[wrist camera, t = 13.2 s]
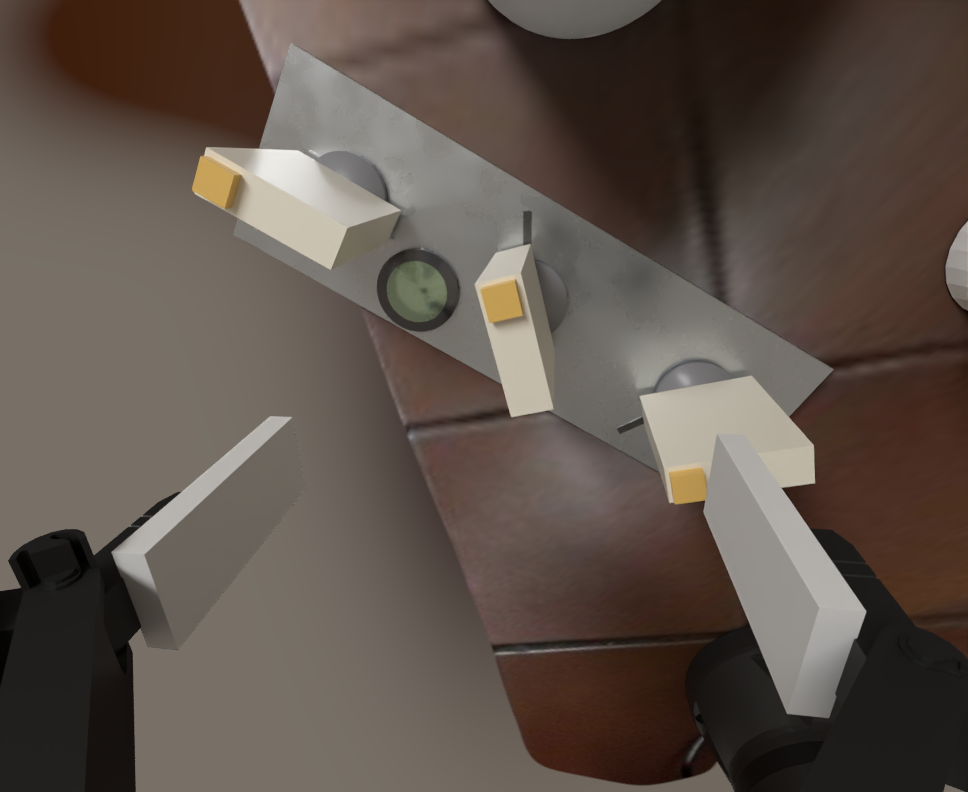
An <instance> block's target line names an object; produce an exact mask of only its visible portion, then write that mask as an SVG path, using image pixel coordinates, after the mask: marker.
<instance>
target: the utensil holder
mask: <svg viewBox="0 0 968 792" xmlns="http://www.w3.org/2000/svg"><path fill="white" fill-rule="evenodd" d="M488 1H489V2H490V3H491V4H492V5H493V6H494V7H495V8H496V9H497V10H498V11H499V12H500V13H502V14H503V15H504V16H505V17H507V18H508V19H509V20H511V21H512V22H513V23H515V24H517V25H519V26H520V27H522V28H524V29H526V30H528V31H531V32H534V33H536V34H540V35H543V36H547V37H553V38H561V39H580V38H589V37H593V36H598V35H602V34H606V33H609V32H611V31H614V30H617V29H619V28H621V27H623V26H625V25H627V24H629V23H631V22H633V21H634V20H636V19H638V18H639V17H641V16H642V15H644V14H645V13H647V12H648V11H649V10H651V9H652V8H653V7H655V6H656V5H657V4H658V3H659V2H660V1H662V0H488Z"/></svg>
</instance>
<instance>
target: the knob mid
mask: <svg viewBox="0 0 968 792" xmlns="http://www.w3.org/2000/svg"><path fill="white" fill-rule="evenodd" d="M475 288H476V291H477V295H478V298H479V302H480V306H481V309H482V313H483V317H484V320H485V324H486V328H487V331H488V335H489V338H490V342H491V346H492V349H493V353H494V357H495V360H496V364H497V368H498V371H499V375H500V378H501V382H502V386H503V389H504V393H505V397H506V400H507V404H508V407H509V411H510V415H511V417H515V416H520V415H525V414H531V413H536V412H542V411H547V410H553V409H554V367H555V348H554V344H553V340H552V335H551V333H553V332H554V331H555V330H556V329H557V328H558V327H559V325H560V324H561V323H562V321H563V319H564V317H565V314H566V310H567V291H566V288H565V285H564V283H563V281H562V279H561V278H560V276H559V275H558V274H557V273H556V272H555V271H554V270H553V269H552V268H550V267H549V266H547V265H545V264H544V263H541V262H538V261H534V256H533V252H532V248H531V244H528V245H524V246H520V247H516V248H512V249H508V250H504V251H501V252H497V253H495V255H494V256H493V258H492V259H491V261H490V262H489V264H488V265H487V267H486V268H485V270H484V271H483V273H482V274H481V275H480V277H479V278H478V280H477V281H476V283H475Z"/></svg>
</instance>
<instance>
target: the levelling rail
mask: <svg viewBox="0 0 968 792" xmlns="http://www.w3.org/2000/svg"><path fill="white" fill-rule="evenodd" d="M259 149H275V150H298V151H300V152H302V153H303V154H305V155H307V156H309V157H310V158H312V159H314V160H316V159H317V158H318V157H320V156H322V155H323V154H326V153H328V152H332V151H348V152H352V153H355V154H358V155H360V156H362V157H363V158H365V159H366V160H368V161H369V162H370V163H371V164H372V165H373V166H374V167H375V168H376V170H377V171H378V172H379V174H380V176H381V178H382V180H383V182H384V185H385V188H386V193H387V202H388V203H390V204H391V205H393V206H395V207H396V208H398V209H400V210H401V212H400V215H399V217H398V219H397V221H396V224H395V226H394V228H393V230H392V233H391V235H390V237H389V239H388V242H387V243H385V244H383V245H381V246H379V247H377V248H375V249H373V250H371V251H369V252H367V253H365V254H363V255H361V256H359V257H357V258H354V259H352V260H350V261H348V262H346V263H344V264H342V265H340V266H338V267H336V268H334V269H332V270H330V269H328V268H326V267H324V266H323V265H321V264H319V263H317V262H316V261H314V260H312V259H310V258H308V257H307V256H305V255H303V254H301V253H299V252H298V251H296V250H294V249H292V248H291V247H289V246H287V245H285V244H283V243H282V242H280V241H278V240H276V239H275V238H273V237H271V236H269V235H267V234H266V233H264V232H262V231H260V230H258V229H257V228H255V227H253V226H251V225H250V224H248V223H246V222H244V221H242V220H241V219H239V218H238V220H237V224H236V227H235V230H234V234H233V235H235V236H236V237H238V238H240V239H242V240H243V241H245V242H247V243H249V244H251V245H253V246H255V247H256V248H258V249H260V250H262V251H263V252H265V253H267V254H269V255H270V256H272V257H274V258H276V259H278V260H280V261H281V262H283V263H285V264H287V265H288V266H290V267H292V268H294V269H296V270H297V271H299V272H301V273H303V274H305V275H306V276H308V277H310V278H312V279H313V280H316V281H317V282H319V283H321V284H322V285H324V286H326V287H328V288H330V289H331V290H333V291H335V292H337V293H339V294H340V295H342V296H344V297H346V298H348V299H349V300H351V301H353V302H355V303H357V304H358V305H360V306H362V307H364V308H366V309H367V310H369V311H371V312H373V313H374V314H376V315H378V316H380V317H382V318H383V319H385V320H387V321H389V322H391V323H392V324H394V325H396V326H398V327H400V328H401V329H403V330H405V331H407V332H409V333H410V334H412V335H414V336H416V337H418V338H419V339H421V340H423V341H425V342H427V343H428V344H430V345H432V346H434V347H436V348H437V349H439V350H441V351H443V352H444V353H446V354H448V355H450V356H452V357H453V358H455V359H457V360H459V361H461V362H462V363H464V364H466V365H468V366H470V367H471V368H473V369H475V370H477V371H479V372H480V373H482V374H484V375H486V376H488V377H489V378H491V379H493V380H495V381H497V382H498V383H500V384H502V382H501V378H500V375H499V371H498V368H497V364H496V360H495V357H494V353H493V349H492V346H491V342H490V338H489V335H488V331H487V328H486V324H485V320H484V317H483V313H482V309H481V306H480V302H479V298H478V295H477V291H476V288H475V283H476V281H477V280H478V278H479V277H480V275H481V274H482V273H483V271H484V270H485V268H486V267H487V265H488V264H489V262H490V261H491V259H492V258H493V256H494V255H495V253H497V252H501V251H504V250H508V249H512V248H516V247H520V246H524V245H528V244H531V248H532V252H533V256H534V261H538V262H541V263H544V264H545V265H547V266H549V267H550V268H552V269H553V270H554V271H555V272H556V273H557V274H558V275H559V276H560V278H561V279H562V281H563V283H564V285H565V288H566V291H567V310H566V314H565V317H564V319H563V321H562V323H561V324H560V325H559V327H558V328H557V329H556V330H555V331H554V332H553V333H551V335H552V340H553V344H554V348H555V367H554V409H553V410H549V411H550V412H552V413H554V414H556V415H558V416H559V417H561V418H563V419H565V420H567V421H568V422H570V423H572V424H574V425H575V426H577V427H579V428H581V429H583V430H584V431H586V432H588V433H590V434H592V435H593V436H595V437H597V438H599V439H601V440H602V441H604V442H606V443H608V444H610V445H611V446H613V447H615V448H617V449H619V450H620V451H622V452H624V453H626V454H628V455H629V456H631V457H633V458H635V459H637V460H638V461H640V462H642V463H644V464H645V465H647V466H649V467H651V468H653V469H654V470H656V471H658V472H659V469H658V466H657V463H656V460H655V456H654V453H653V450H652V447H651V444H650V441H649V438H648V435H647V432H646V428H645V425H644V420H643V414H642V408H641V402H640V396H642V395H647V394H653V393H655V391H656V388H657V386H658V384H659V382H660V381H661V380H662V378H663V377H664V376H665V375H666V374H667V373H668V372H669V371H671V370H672V369H674V368H676V367H678V366H679V365H682V364H685V363H689V362H696V361H702V362H709V363H712V364H715V365H717V366H719V367H721V368H723V369H724V370H725V371H726V372H727V373H728V374H729V375H730V376H731V378H732V379H735V378H741V377H747V376H753V378H754V379H755V380H756V381H757V382H758V383H759V384H760V385H761V387H762V388H763V389H764V390H765V391H766V392H767V393H768V394H769V396H770V397H771V398H772V399H773V400H774V401H775V402H776V403H777V405H778V406H779V407H780V408H781V409H782V410H783V411H784V412H785V414H786V415H787V416H788V417H789V416H790V415H791V414H792V413H793V412H794V411H795V410H796V409H797V408H798V407H799V406H800V405H801V404H802V403H803V401H804V400H805V399H806V398H807V397H808V396H809V395H810V394H811V393H812V392H813V391H814V390H815V389H816V388H817V387H818V386H819V385H820V383H821V382H822V381H823V380H824V379H825V378H826V377H827V376H828V375H829V374H830V373H831V372H832V371H833V370H834V369H832V368H831V367H830V366H828V365H827V364H825V363H824V362H822V361H820V360H819V359H817V358H815V357H814V356H812V355H810V354H809V353H807V352H805V351H804V350H802V349H800V348H799V347H797V346H795V345H794V344H792V343H790V342H789V341H787V340H785V339H784V338H782V337H780V336H779V335H777V334H775V333H774V332H772V331H770V330H769V329H767V328H765V327H764V326H762V325H760V324H759V323H757V322H755V321H754V320H752V319H750V318H749V317H747V316H745V315H744V314H742V313H740V312H739V311H737V310H735V309H734V308H732V307H730V306H729V305H727V304H725V303H724V302H722V301H720V300H719V299H717V298H716V297H714V296H712V295H711V294H709V293H707V292H706V291H704V290H702V289H701V288H699V287H697V286H696V285H694V284H692V283H691V282H689V281H687V280H686V279H684V278H682V277H681V276H679V275H677V274H676V273H674V272H672V271H671V270H669V269H667V268H666V267H664V266H662V265H661V264H659V263H657V262H656V261H654V260H652V259H651V258H649V257H647V256H646V255H644V254H642V253H641V252H639V251H637V250H636V249H634V248H632V247H631V246H629V245H627V244H626V243H624V242H622V241H621V240H619V239H617V238H616V237H614V236H612V235H611V234H609V233H607V232H606V231H604V230H602V229H601V228H599V227H597V226H596V225H594V224H592V223H591V222H589V221H587V220H586V219H584V218H583V217H581V216H579V215H578V214H576V213H574V212H573V211H571V210H569V209H568V208H566V207H564V206H563V205H561V204H559V203H558V202H556V201H554V200H553V199H551V198H549V197H548V196H546V195H544V194H543V193H541V192H539V191H538V190H536V189H534V188H533V187H531V186H529V185H528V184H526V183H524V182H523V181H521V180H519V179H518V178H516V177H514V176H513V175H511V174H509V173H508V172H506V171H504V170H503V169H501V168H499V167H498V166H496V165H494V164H493V163H491V162H489V161H488V160H486V159H484V158H483V157H481V156H479V155H478V154H476V153H474V152H473V151H471V150H469V149H468V148H466V147H464V146H463V145H461V144H459V143H458V142H456V141H454V140H453V139H451V138H450V137H448V136H446V135H445V134H443V133H441V132H440V131H438V130H436V129H435V128H433V127H431V126H430V125H428V124H426V123H425V122H423V121H421V120H420V119H418V118H416V117H415V116H413V115H411V114H410V113H408V112H406V111H405V110H403V109H401V108H400V107H398V106H396V105H395V104H393V103H391V102H390V101H388V100H386V99H385V98H383V97H381V96H380V95H378V94H376V93H375V92H373V91H371V90H370V89H368V88H366V87H365V86H363V85H361V84H360V83H358V82H356V81H355V80H353V79H351V78H350V77H348V76H346V75H345V74H343V73H341V72H340V71H338V70H336V69H335V68H333V67H331V66H330V65H328V64H326V63H325V62H323V61H321V60H320V59H318V58H317V57H315V56H313V55H312V54H310V53H308V52H307V51H305V50H303V49H302V48H300V47H298V46H296V45H294V44H292V43H291V44H290V47H289V51H288V54H287V57H286V61H285V64H284V67H283V71H282V74H281V77H280V81H279V84H278V87H277V90H276V94H275V97H274V101H273V104H272V107H271V110H270V114H269V117H268V120H267V124H266V127H265V131H264V134H263V137H262V140H261V144H260V147H259Z"/></svg>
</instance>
